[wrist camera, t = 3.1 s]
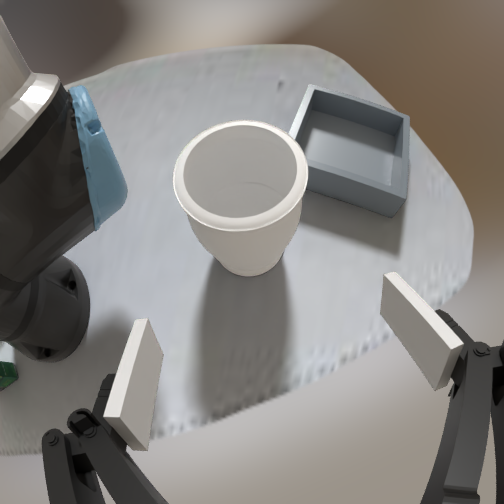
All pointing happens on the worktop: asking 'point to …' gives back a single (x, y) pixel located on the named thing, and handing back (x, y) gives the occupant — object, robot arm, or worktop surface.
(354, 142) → the bin
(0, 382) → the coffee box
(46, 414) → the worktop surface
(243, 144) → the white tapered cylinder
